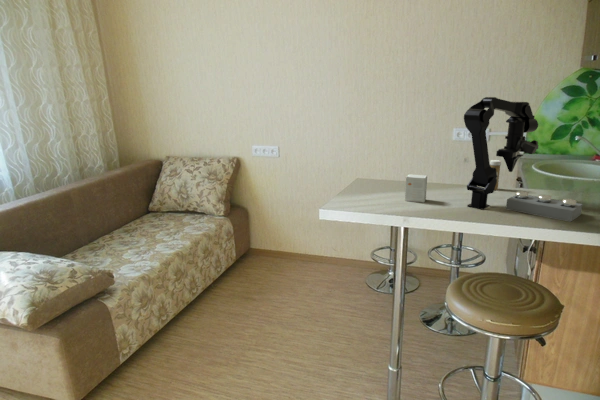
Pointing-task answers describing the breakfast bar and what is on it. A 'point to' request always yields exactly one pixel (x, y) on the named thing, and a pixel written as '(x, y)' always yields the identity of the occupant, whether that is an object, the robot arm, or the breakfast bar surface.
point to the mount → (544, 208)
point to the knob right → (568, 203)
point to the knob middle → (544, 198)
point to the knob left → (521, 195)
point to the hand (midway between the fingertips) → (510, 171)
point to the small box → (416, 188)
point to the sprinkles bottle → (496, 165)
